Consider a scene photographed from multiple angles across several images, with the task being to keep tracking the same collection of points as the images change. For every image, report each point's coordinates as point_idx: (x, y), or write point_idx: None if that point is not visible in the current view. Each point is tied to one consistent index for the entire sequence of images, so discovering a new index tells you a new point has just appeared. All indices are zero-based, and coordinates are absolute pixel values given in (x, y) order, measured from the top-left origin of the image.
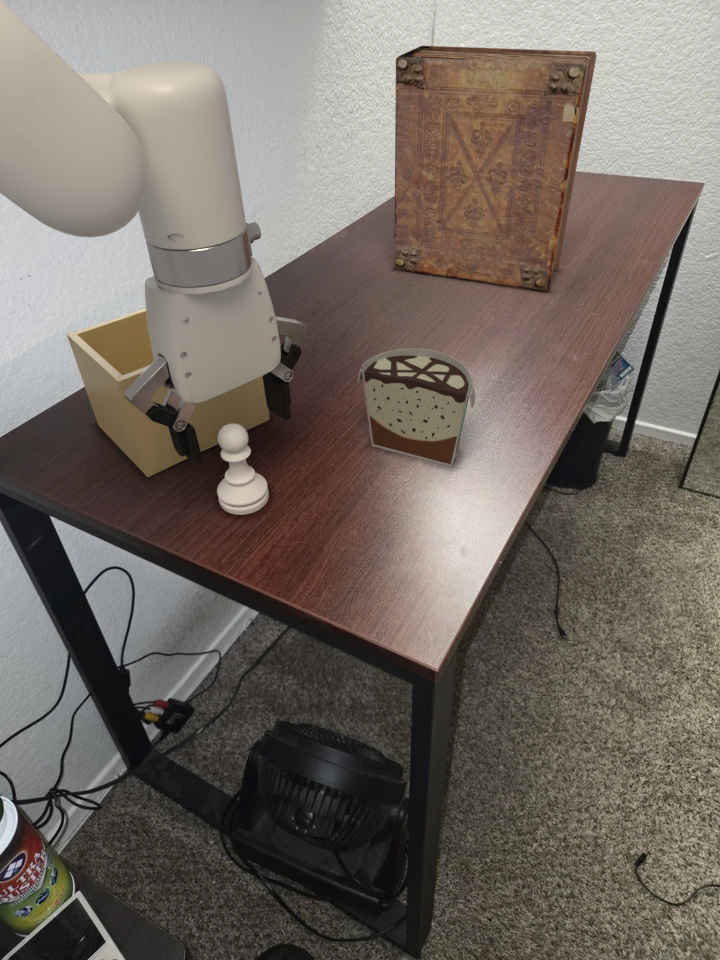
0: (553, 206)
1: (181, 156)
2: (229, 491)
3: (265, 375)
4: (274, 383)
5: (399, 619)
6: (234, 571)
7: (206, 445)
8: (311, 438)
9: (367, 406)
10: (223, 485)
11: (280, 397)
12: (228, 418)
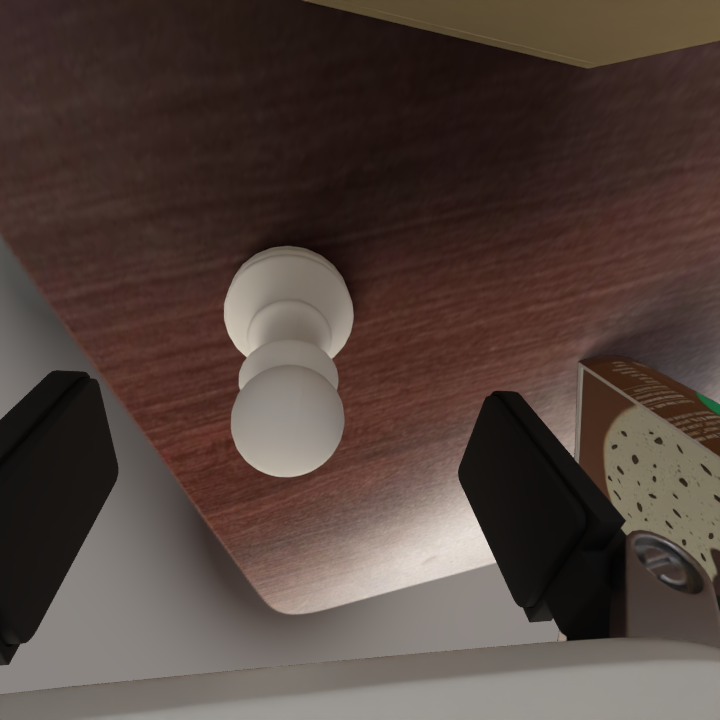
0: None
1: None
2: (245, 335)
3: (584, 531)
4: (537, 588)
5: (296, 582)
6: (160, 436)
7: (356, 8)
8: (553, 247)
9: (658, 417)
10: (245, 307)
11: (497, 555)
12: (485, 16)
